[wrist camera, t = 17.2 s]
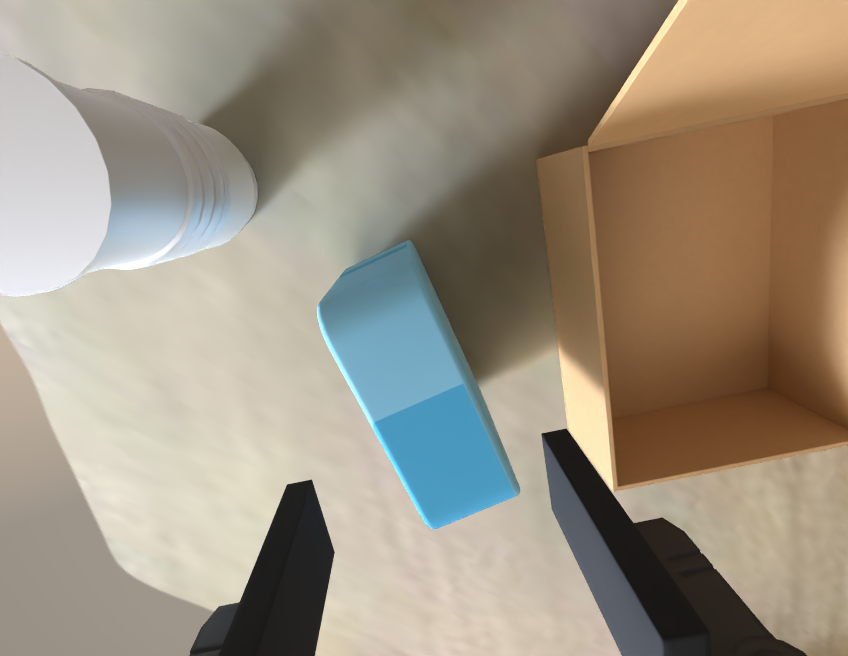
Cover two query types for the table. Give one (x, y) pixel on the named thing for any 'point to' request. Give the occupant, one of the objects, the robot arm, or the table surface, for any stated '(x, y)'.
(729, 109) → the flap
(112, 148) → the white ridged cylinder
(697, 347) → the carton
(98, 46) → the table surface
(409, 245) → the light blue flat block
